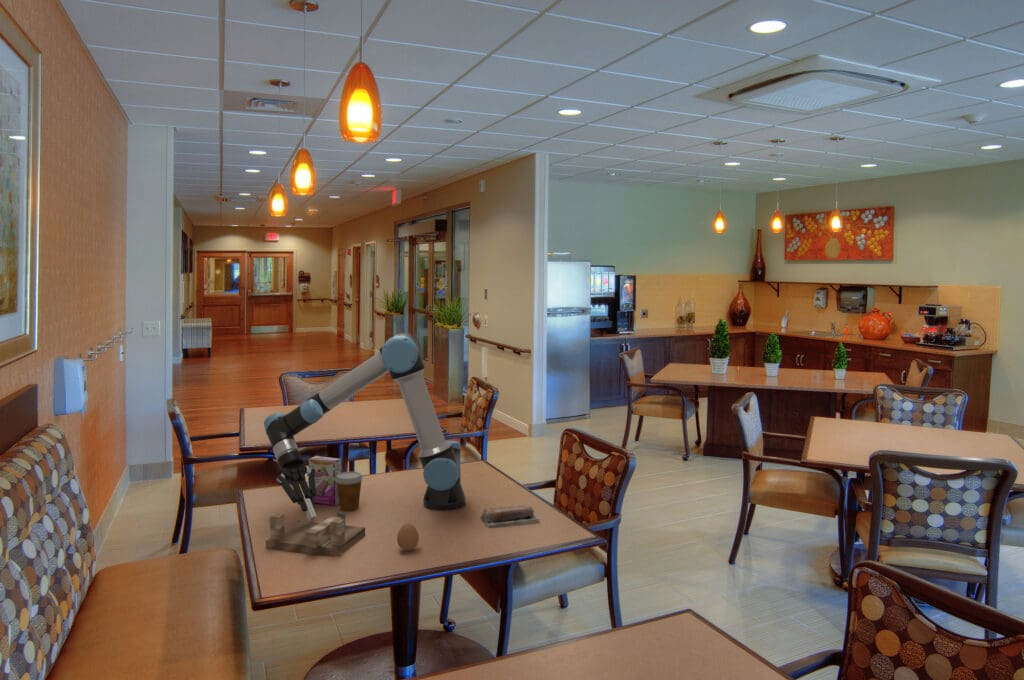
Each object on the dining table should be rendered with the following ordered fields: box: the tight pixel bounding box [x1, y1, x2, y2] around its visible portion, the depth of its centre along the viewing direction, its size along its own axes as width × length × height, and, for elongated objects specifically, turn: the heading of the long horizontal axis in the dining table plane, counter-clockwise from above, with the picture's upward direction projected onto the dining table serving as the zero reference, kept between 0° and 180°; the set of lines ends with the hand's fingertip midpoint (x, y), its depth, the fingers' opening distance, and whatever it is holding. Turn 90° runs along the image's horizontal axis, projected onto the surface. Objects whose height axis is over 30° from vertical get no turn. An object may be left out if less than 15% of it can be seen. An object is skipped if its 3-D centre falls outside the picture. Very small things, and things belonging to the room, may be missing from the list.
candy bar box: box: [307, 455, 343, 507], centre depth 256 cm, size 11×5×16 cm, turn 71°
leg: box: [305, 515, 342, 548], centre depth 215 cm, size 14×4×4 cm, turn 161°
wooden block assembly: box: [265, 511, 366, 557], centre depth 220 cm, size 24×18×10 cm
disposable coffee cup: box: [335, 471, 364, 512], centre depth 251 cm, size 10×10×12 cm
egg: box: [396, 523, 420, 552], centre depth 213 cm, size 6×6×8 cm
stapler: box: [479, 504, 540, 529], centre depth 240 cm, size 18×5×10 cm
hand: (312, 518), depth 223 cm, fingers closed
